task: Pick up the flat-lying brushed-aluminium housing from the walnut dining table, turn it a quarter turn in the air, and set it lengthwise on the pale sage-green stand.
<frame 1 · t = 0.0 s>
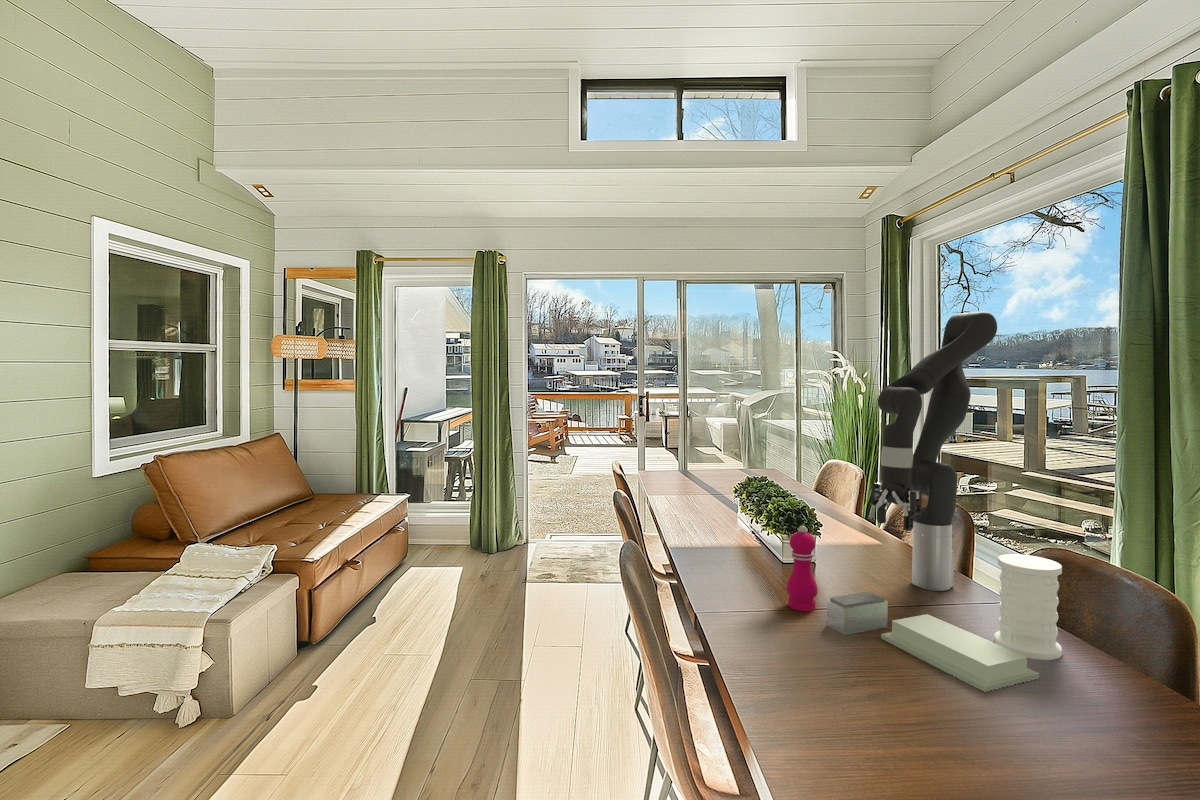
hand: (894, 526, 160), 17 cm above the table, tool pointing down, fingers open, 8 cm apart
decorative container: (1027, 648, 128), on the table
housing: (856, 626, 139), on the table
stand: (954, 657, 124), on the table
pepper mill: (801, 607, 151), on the table
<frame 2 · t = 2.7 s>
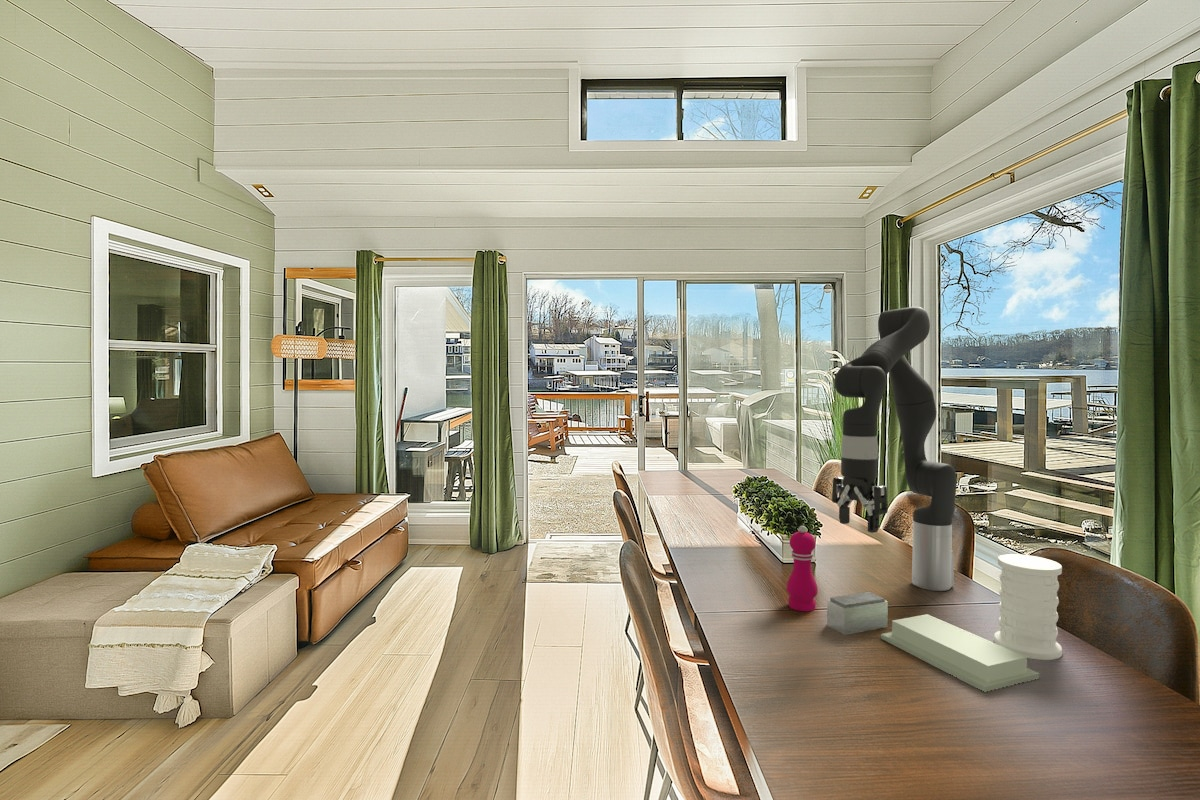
hand: (858, 527, 138), 22 cm above the table, tool pointing down, fingers open, 8 cm apart
nothing on the table moved.
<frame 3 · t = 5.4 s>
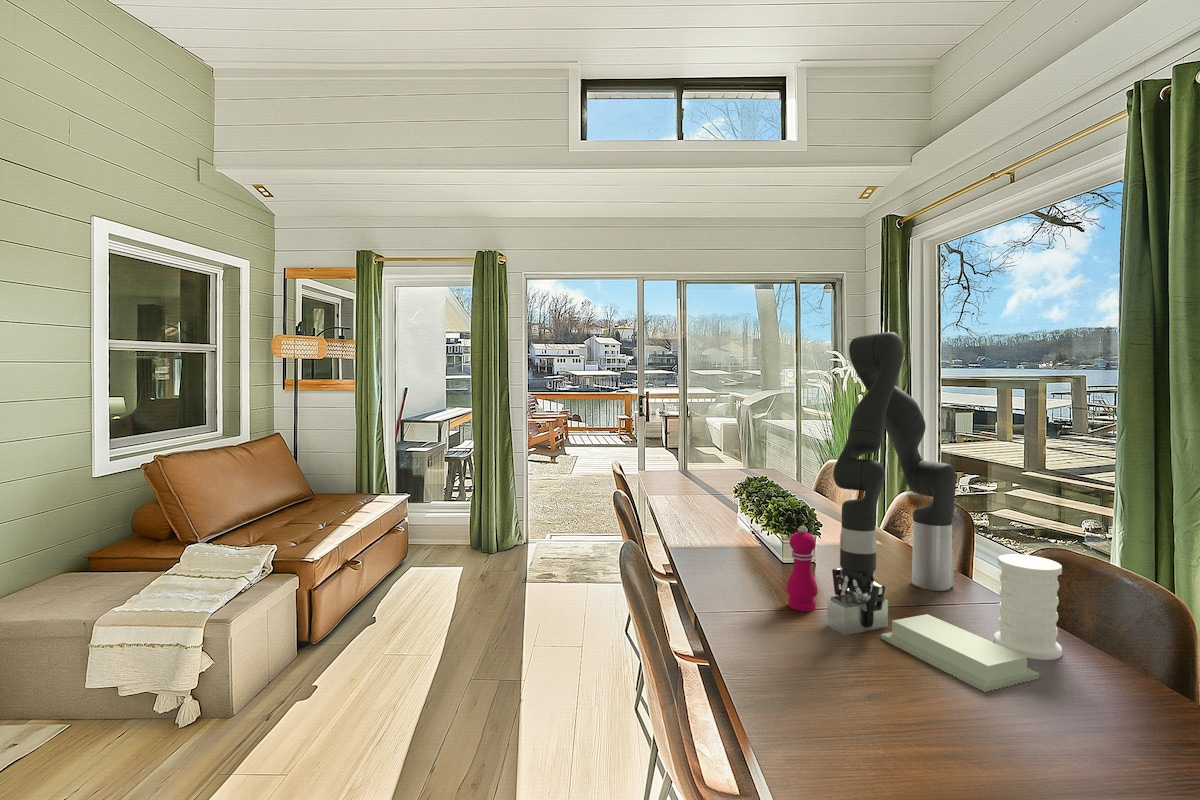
hand: (857, 621, 139), 1 cm above the table, tool pointing down, fingers closed on housing, 5 cm apart
housing: (857, 626, 139), on the table, touching gripper
everything else where it was.
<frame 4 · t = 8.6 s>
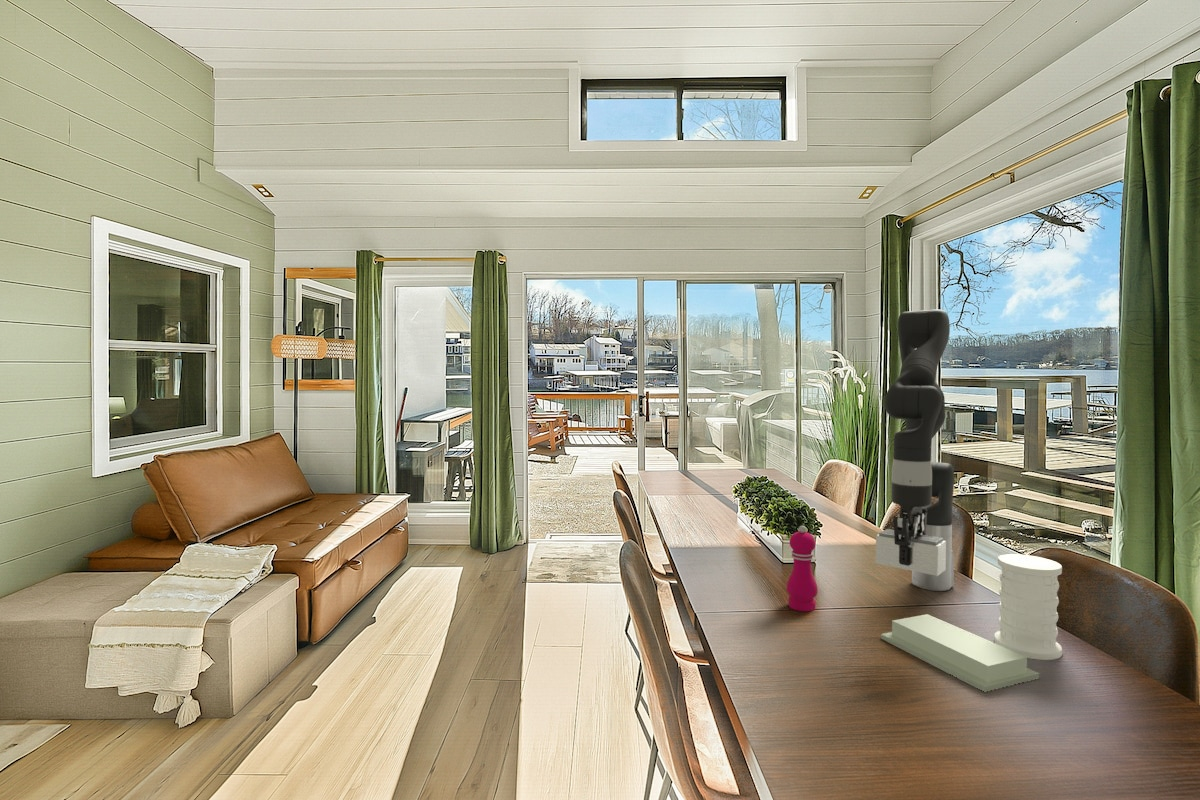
hand: (910, 561, 129), 18 cm above the table, tool pointing down, fingers closed on housing, 5 cm apart
housing: (910, 566, 129), point 16 cm above the table, touching gripper
everything else where it was.
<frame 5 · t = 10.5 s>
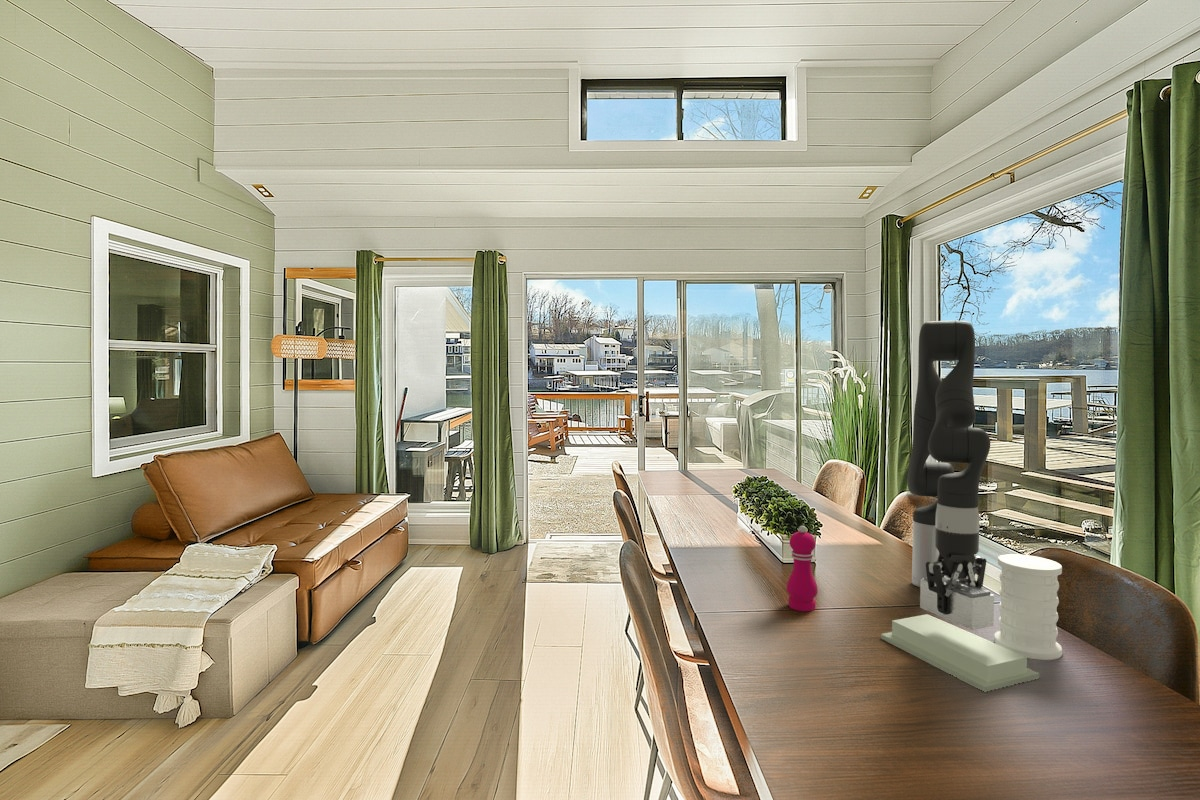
hand: (955, 610, 123), 9 cm above the table, tool pointing down, fingers closed on housing, 5 cm apart
housing: (955, 616, 123), point 8 cm above the table, touching gripper
everything else where it was.
when the fingers open (6 cm above the table, at t = 11.9 s): housing drops 1 cm, resting on stand.
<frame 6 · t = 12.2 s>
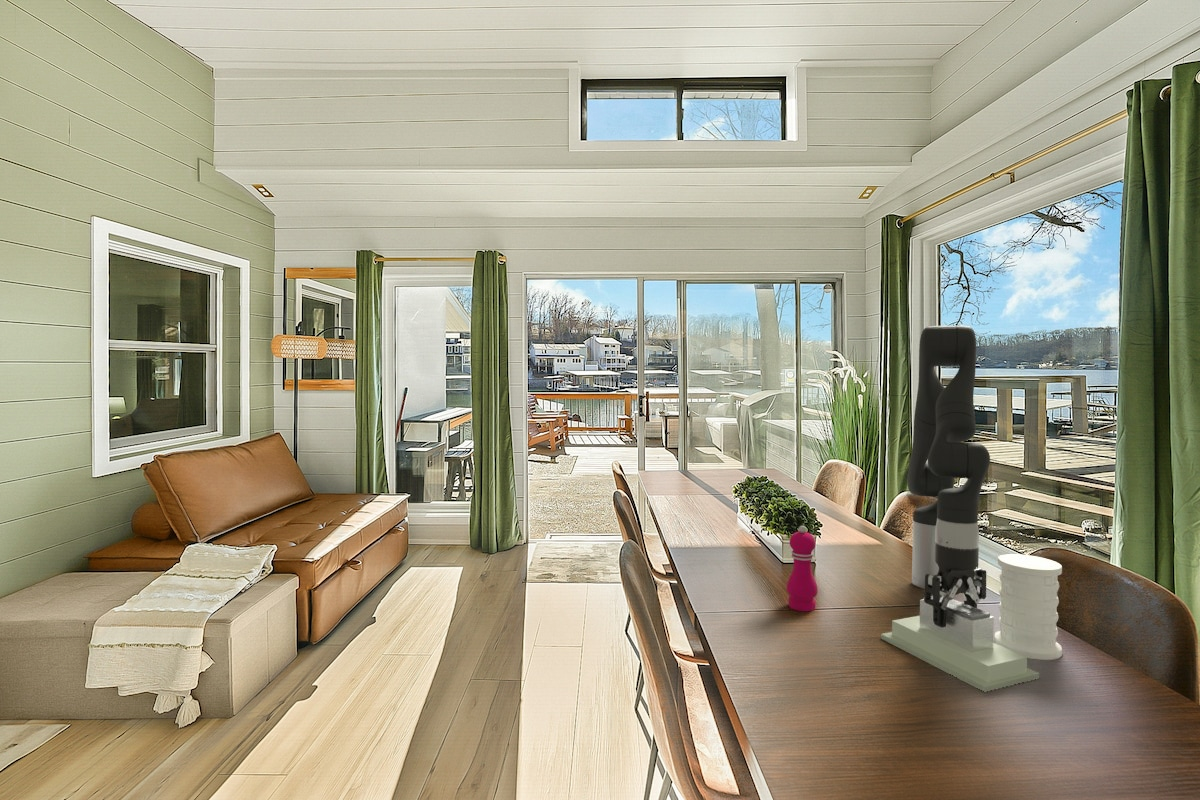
hand: (955, 623, 123), 7 cm above the table, tool pointing down, fingers open, 7 cm apart
housing: (954, 637, 123), point 4 cm above the table, touching stand
everything else where it was.
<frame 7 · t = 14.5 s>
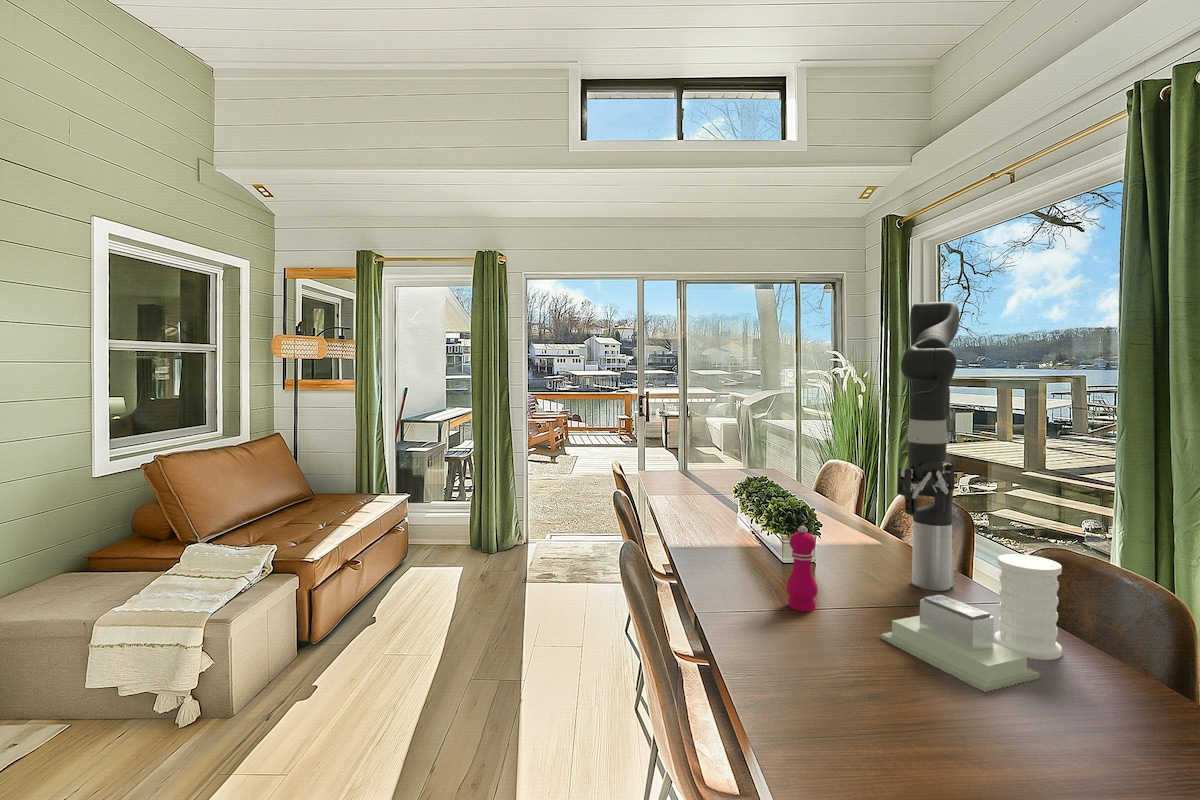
hand: (925, 512, 136), 26 cm above the table, tool pointing down, fingers open, 8 cm apart
nothing on the table moved.
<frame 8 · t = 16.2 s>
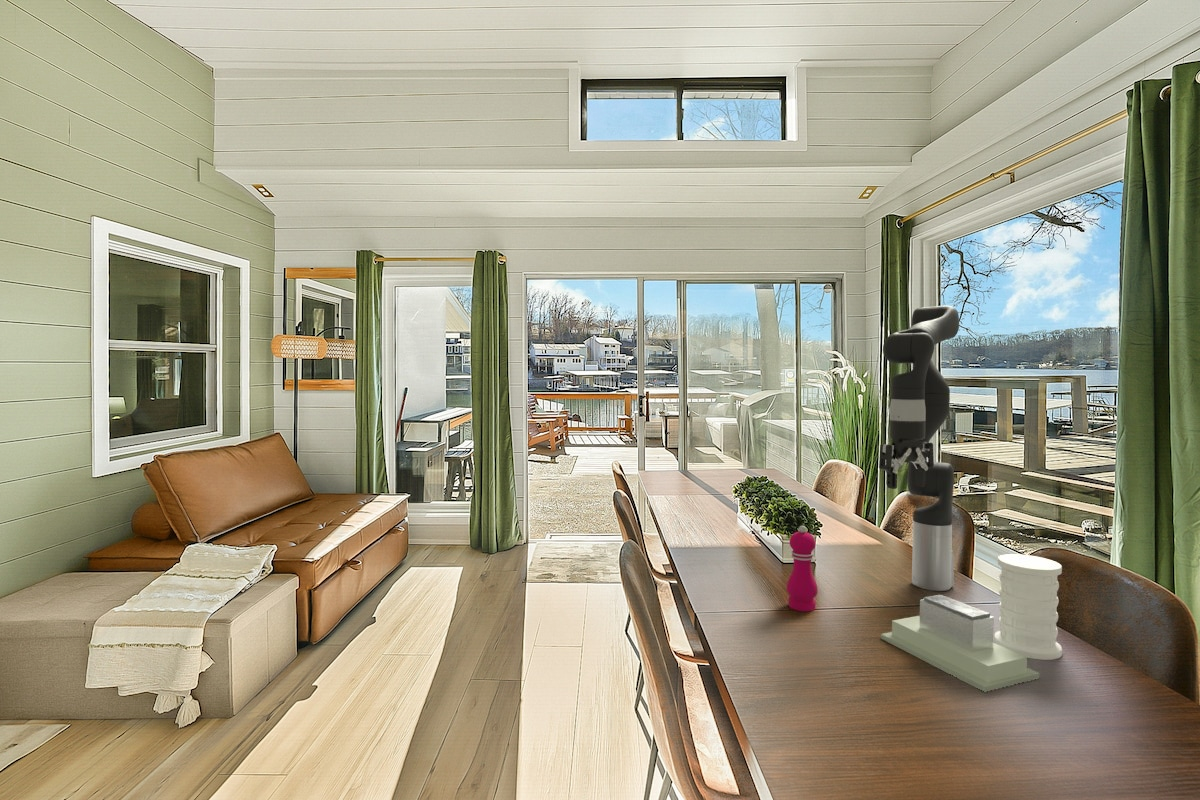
hand: (906, 487, 145), 30 cm above the table, tool pointing down, fingers open, 8 cm apart
nothing on the table moved.
at the end: housing inside the target area on the stand (0.0 cm from its centre), point 4.0 cm above the stand's base; housing tilted 0°; the gripper is holding nothing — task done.
